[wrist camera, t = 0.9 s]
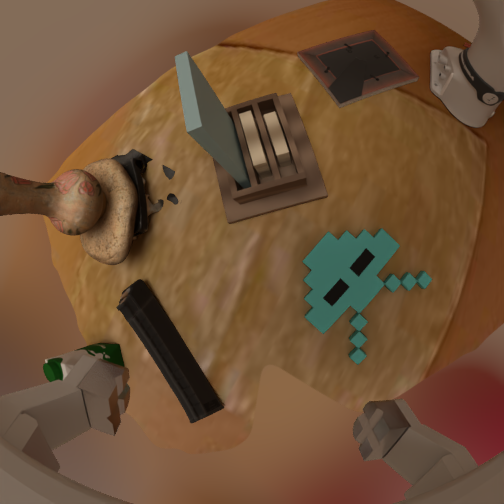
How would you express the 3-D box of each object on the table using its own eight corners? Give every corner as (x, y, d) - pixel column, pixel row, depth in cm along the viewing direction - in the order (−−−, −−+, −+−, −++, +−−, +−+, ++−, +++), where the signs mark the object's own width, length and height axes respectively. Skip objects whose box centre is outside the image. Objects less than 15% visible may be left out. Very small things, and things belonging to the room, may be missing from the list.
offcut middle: (248, 131, 48) (238, 114, 41) (258, 128, 48) (250, 110, 41) (261, 178, 47) (253, 166, 40) (272, 175, 47) (266, 162, 40)
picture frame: (339, 109, 46) (416, 82, 43) (340, 103, 44) (419, 76, 40) (298, 58, 48) (373, 35, 44) (297, 51, 46) (374, 29, 42)
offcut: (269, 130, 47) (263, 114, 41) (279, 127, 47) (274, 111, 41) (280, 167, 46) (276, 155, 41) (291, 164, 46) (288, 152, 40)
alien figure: (427, 278, 42) (351, 204, 46) (432, 279, 40) (352, 202, 44) (356, 360, 45) (277, 289, 48) (357, 364, 42) (275, 291, 46)
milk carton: (121, 340, 55) (57, 364, 35) (130, 376, 54) (72, 409, 35) (96, 339, 56) (35, 358, 37) (104, 373, 56) (48, 400, 36)
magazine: (219, 436, 40) (99, 308, 35) (205, 440, 41) (88, 317, 36) (230, 381, 57) (144, 275, 52) (218, 386, 57) (133, 282, 53)
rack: (207, 123, 51) (195, 109, 45) (291, 97, 48) (288, 78, 41) (230, 223, 50) (218, 218, 43) (327, 197, 46) (329, 187, 40)
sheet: (230, 132, 49) (174, 56, 25) (238, 130, 48) (186, 51, 25) (244, 189, 48) (187, 132, 24) (253, 186, 47) (201, 126, 24)
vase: (81, 224, 58) (-40, 207, 24) (121, 143, 56) (9, 83, 22) (142, 277, 54) (-11, 291, 19) (193, 181, 52) (55, 98, 17)
